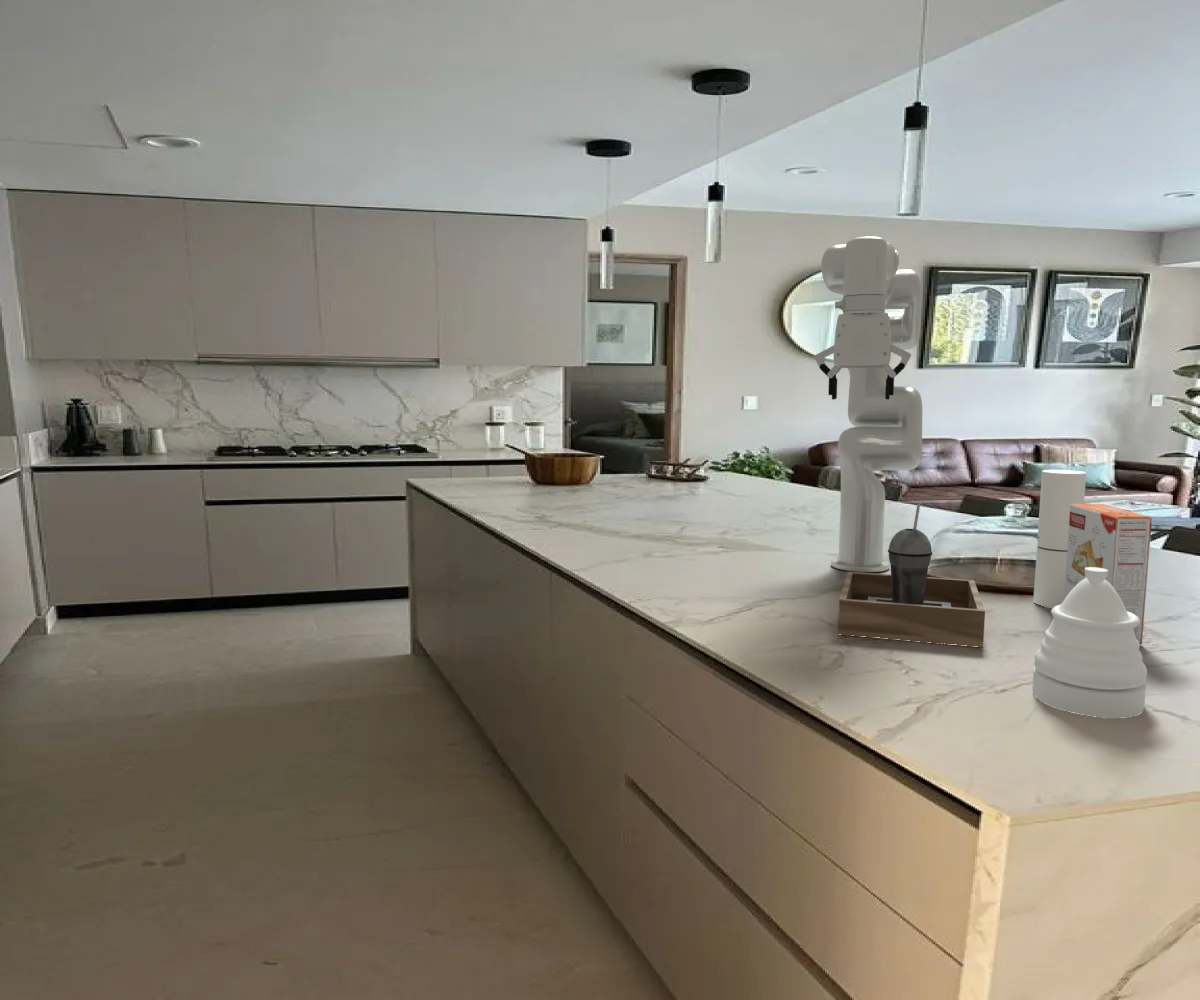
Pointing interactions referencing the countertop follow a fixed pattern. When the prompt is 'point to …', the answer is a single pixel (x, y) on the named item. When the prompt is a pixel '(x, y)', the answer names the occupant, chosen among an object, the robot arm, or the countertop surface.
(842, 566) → the robot arm
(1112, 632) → the honey pot
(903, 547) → the beverage cup
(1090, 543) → the cracker box
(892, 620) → the walled box
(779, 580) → the countertop surface
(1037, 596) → the cylindrical container
